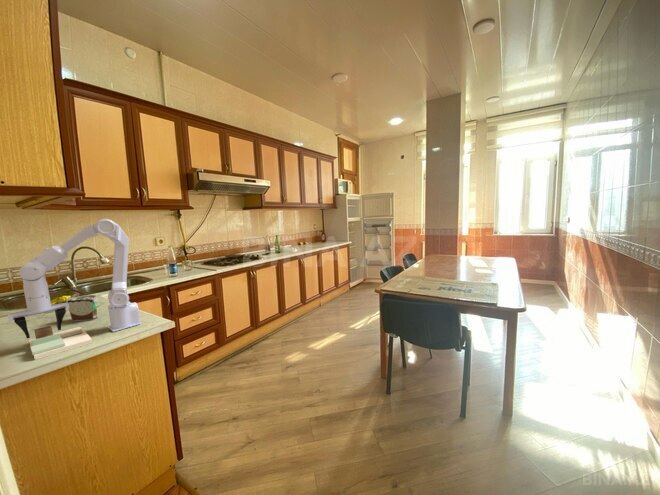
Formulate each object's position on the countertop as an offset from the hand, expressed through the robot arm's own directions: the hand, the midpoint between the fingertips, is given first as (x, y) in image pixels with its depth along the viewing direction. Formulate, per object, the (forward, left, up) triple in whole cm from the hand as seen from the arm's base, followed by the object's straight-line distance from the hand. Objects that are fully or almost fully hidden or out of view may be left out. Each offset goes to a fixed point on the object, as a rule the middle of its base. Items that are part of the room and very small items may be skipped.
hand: (44, 333), depth 95 cm
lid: (0, +8, -3) cm, 9 cm away
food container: (-15, -23, -5) cm, 28 cm away
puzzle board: (-3, +3, -4) cm, 6 cm away
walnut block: (0, 0, -4) cm, 4 cm away
